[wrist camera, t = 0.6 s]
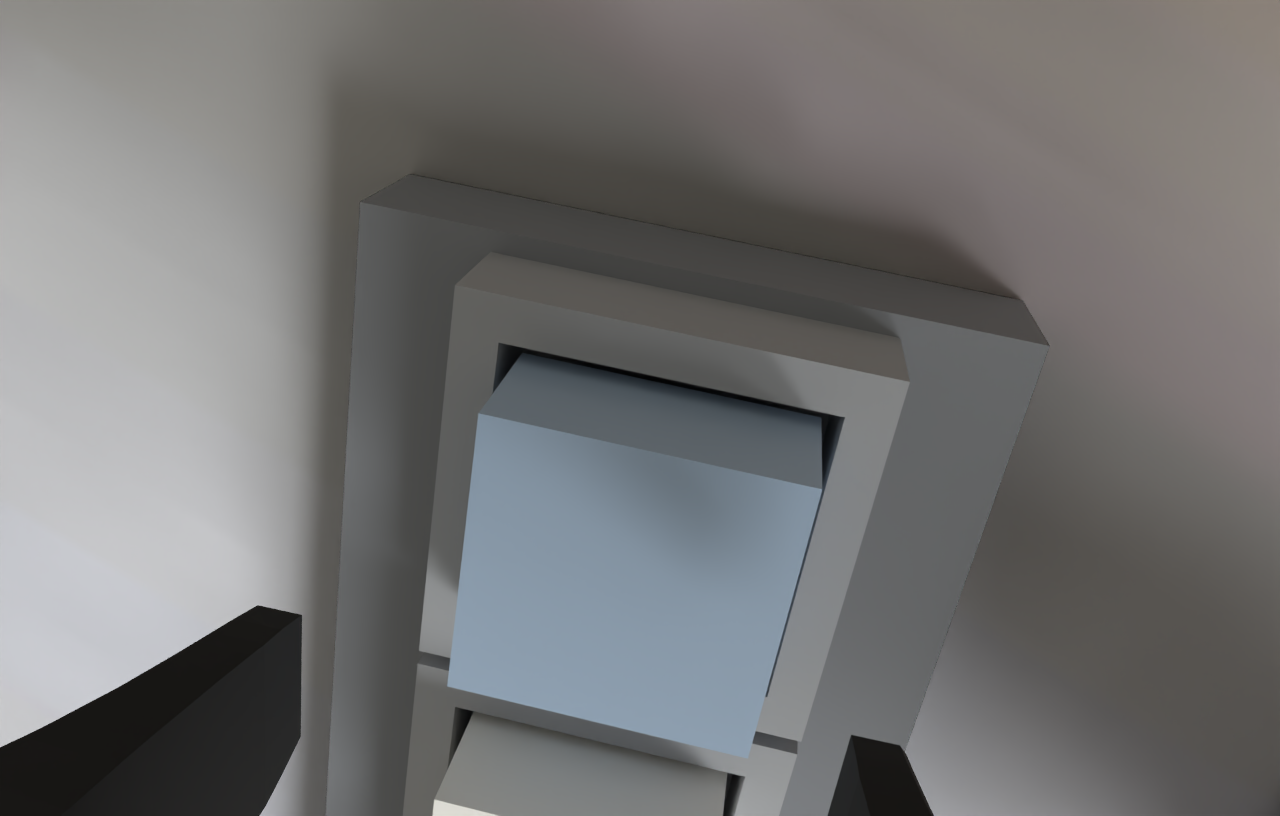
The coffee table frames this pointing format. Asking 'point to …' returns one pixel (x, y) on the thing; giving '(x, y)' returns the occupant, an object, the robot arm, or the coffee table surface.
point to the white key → (568, 777)
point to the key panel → (685, 357)
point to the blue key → (632, 551)
